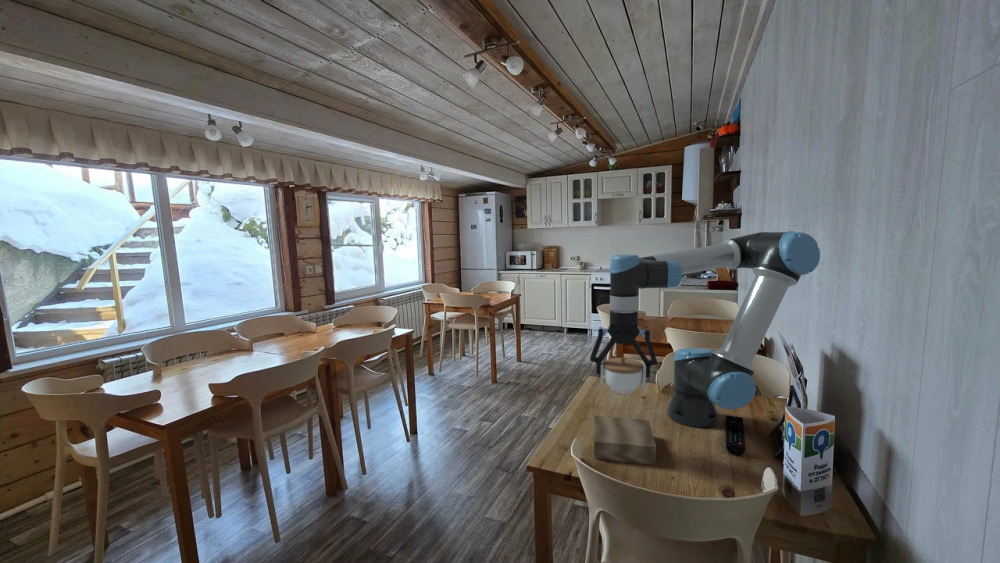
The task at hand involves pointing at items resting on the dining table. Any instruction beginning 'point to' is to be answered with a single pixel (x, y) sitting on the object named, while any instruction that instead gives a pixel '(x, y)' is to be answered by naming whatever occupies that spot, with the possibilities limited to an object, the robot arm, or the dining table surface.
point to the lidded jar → (622, 374)
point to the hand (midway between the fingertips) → (622, 386)
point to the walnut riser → (624, 440)
